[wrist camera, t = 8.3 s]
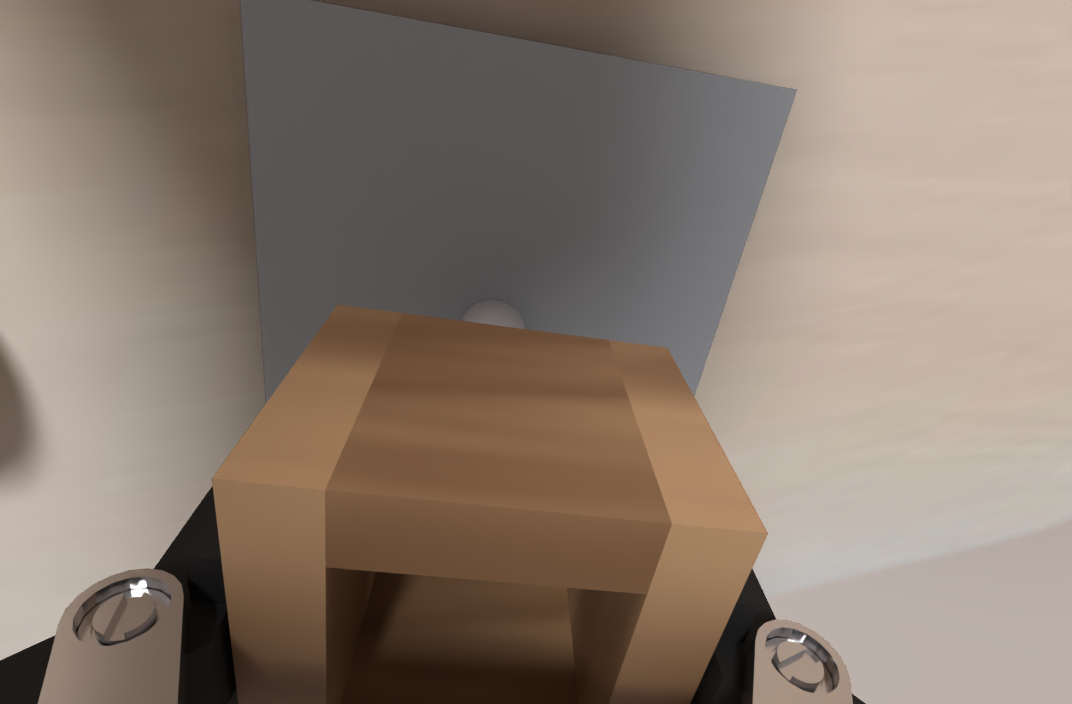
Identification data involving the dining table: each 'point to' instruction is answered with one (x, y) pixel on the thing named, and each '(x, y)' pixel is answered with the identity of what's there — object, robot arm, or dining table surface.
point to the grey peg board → (493, 181)
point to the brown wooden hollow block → (478, 521)
